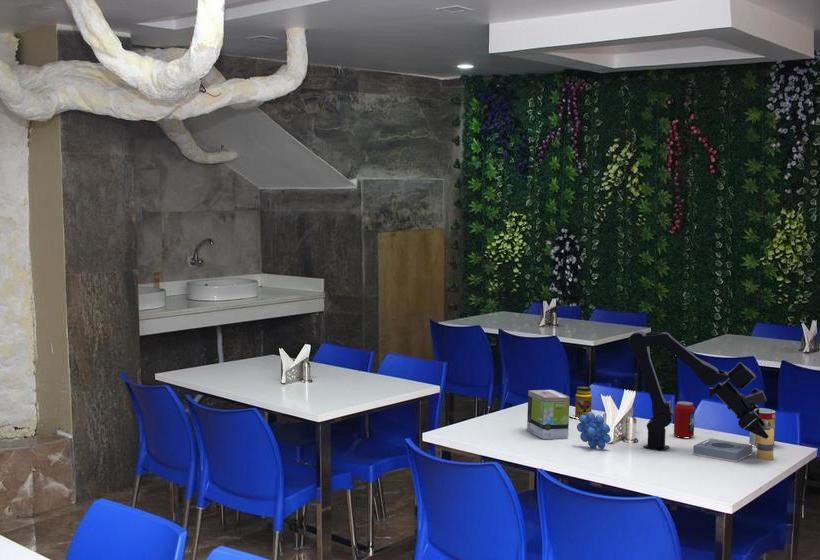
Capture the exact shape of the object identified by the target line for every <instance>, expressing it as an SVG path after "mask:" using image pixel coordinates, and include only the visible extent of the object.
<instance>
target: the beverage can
mask: <svg viewBox="0 0 820 560" xmlns="http://www.w3.org/2000/svg"><path fill="white" fill-rule="evenodd" d="M695 411H696V408H695V406H694V403H693V402H691V401H685V400H684V401H676V404H675V406H674V413H673V419H674V421H673V435H674V436H676V437H677V436H679V437H691V438H692V437H694V435H695V413H696V412H695ZM679 437H678V438H679Z"/></svg>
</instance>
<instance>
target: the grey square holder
mask: <svg viewBox="0 0 820 560" xmlns="http://www.w3.org/2000/svg"><path fill="white" fill-rule="evenodd" d="M692 451H693V452H692V456H699V457H703V458H704V457H705V458H709V459H716V460H720V461H726V462H732V463H738V462H740V461H742V460H744V459H745V457H746V458H747V456H748V457H749V455H750V454H752V455H753V446H752V445H749V443H748V444H747V443H741V442H737V441H730V440H724V439H717V438H709V439H705V440H703V441H701V442H699V443H697V444H694V445H693V447H692ZM750 456H751V455H750ZM741 459H742V460H741Z"/></svg>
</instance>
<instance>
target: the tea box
mask: <svg viewBox="0 0 820 560" xmlns="http://www.w3.org/2000/svg"><path fill="white" fill-rule="evenodd" d="M570 400H571V398H570V396H568V395H567V394H563V393H561V392H559V391H556V390H555V389H535V390H533V389H532V390H528V391H527V415H526V417H527V421H526V430H527V431H528V432H530V433H532V434H533V435H535V436H537V437H539V438H540V439H542V440H557V439H558V440H560V439H568V438H569V424H570V422H569V421H570Z"/></svg>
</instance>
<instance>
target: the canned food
mask: <svg viewBox="0 0 820 560" xmlns="http://www.w3.org/2000/svg"><path fill="white" fill-rule="evenodd" d="M758 408H759V416H760V418H761V419H762V421H763V422H764V424H765V421H768V426H770V428H772V429H774V437H775V434H776V433H775V431H776V411H775V410H774V409H770V408H763V407H758ZM758 408H757V409H758ZM757 409H754V410H755V411H756V410H757ZM748 441H749V443H750V444H751V445H754V446H757V442H758V435H756V434H754V433H752V432H750V431H749V439H748ZM749 443H748V444H749Z"/></svg>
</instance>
